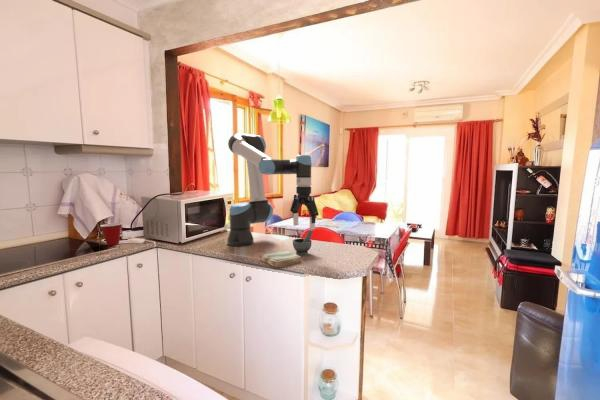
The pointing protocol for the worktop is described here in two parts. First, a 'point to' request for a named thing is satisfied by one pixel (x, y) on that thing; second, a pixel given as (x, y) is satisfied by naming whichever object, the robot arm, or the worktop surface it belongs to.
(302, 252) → the mortar and pestle
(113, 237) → the plastic cup
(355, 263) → the worktop surface
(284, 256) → the beige flat pad
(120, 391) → the worktop surface
